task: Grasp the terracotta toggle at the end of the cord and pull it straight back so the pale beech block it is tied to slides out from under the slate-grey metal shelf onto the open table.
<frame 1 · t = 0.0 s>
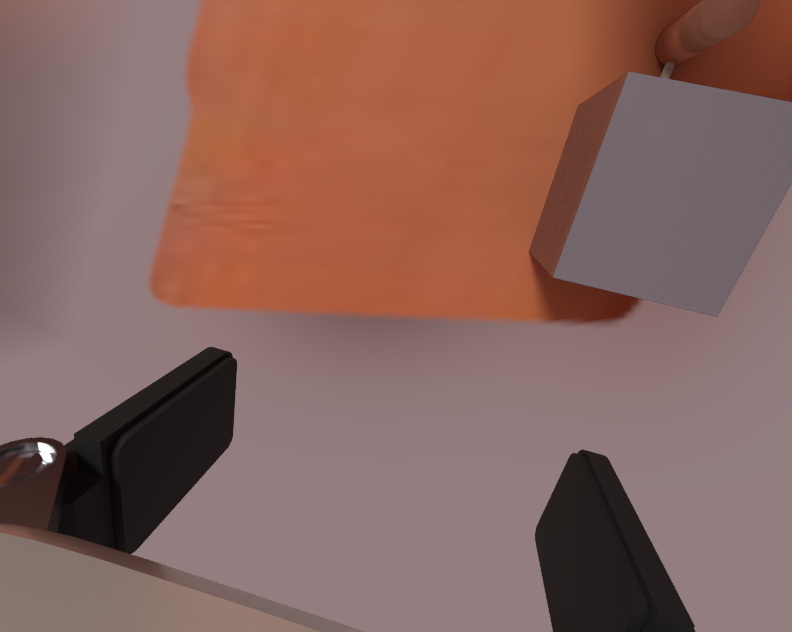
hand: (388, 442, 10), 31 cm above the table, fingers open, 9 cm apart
corded block: (608, 212, 36), on the table
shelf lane: (617, 190, 35), on the table
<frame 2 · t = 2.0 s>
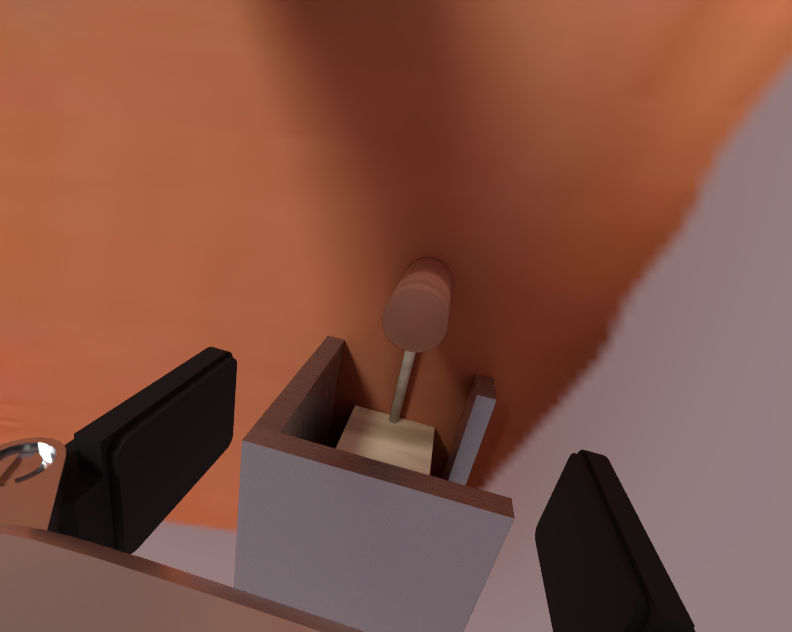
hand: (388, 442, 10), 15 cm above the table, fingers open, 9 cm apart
corded block: (387, 447, 29), on the table
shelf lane: (392, 427, 28), on the table
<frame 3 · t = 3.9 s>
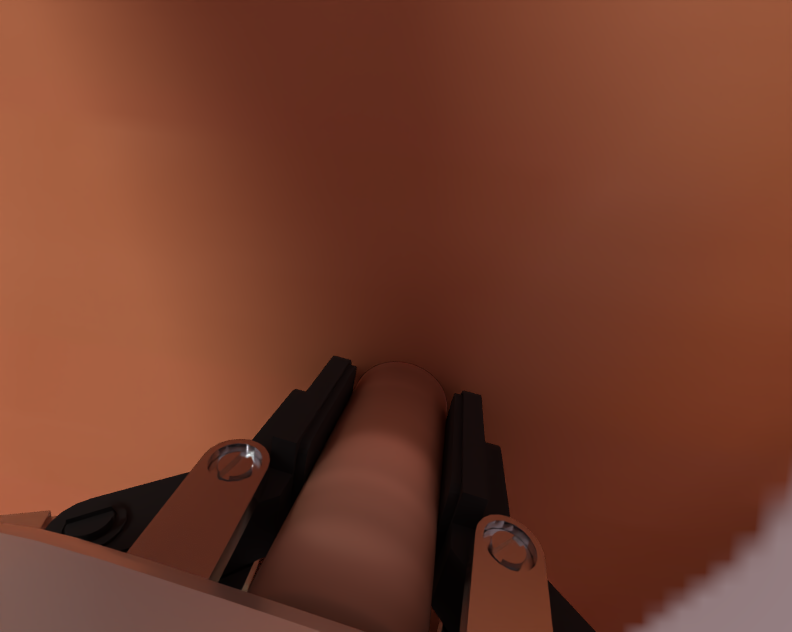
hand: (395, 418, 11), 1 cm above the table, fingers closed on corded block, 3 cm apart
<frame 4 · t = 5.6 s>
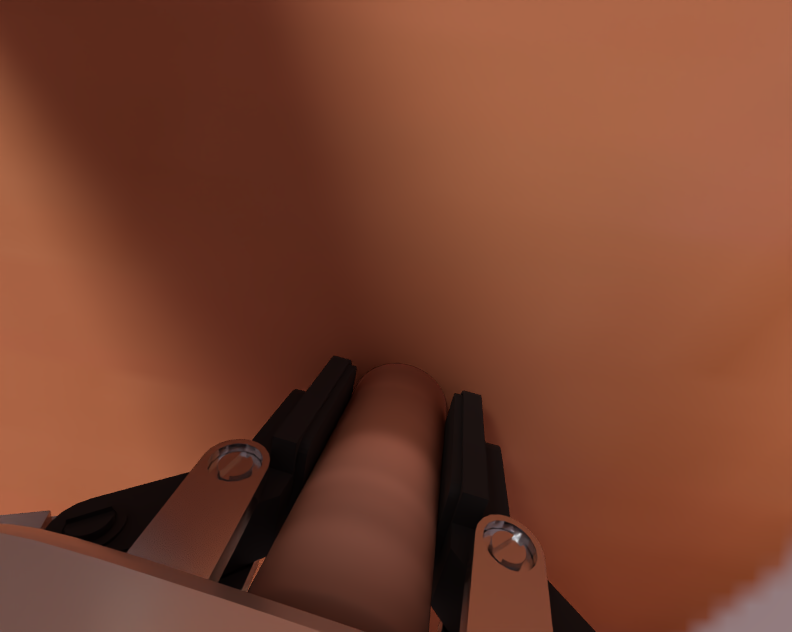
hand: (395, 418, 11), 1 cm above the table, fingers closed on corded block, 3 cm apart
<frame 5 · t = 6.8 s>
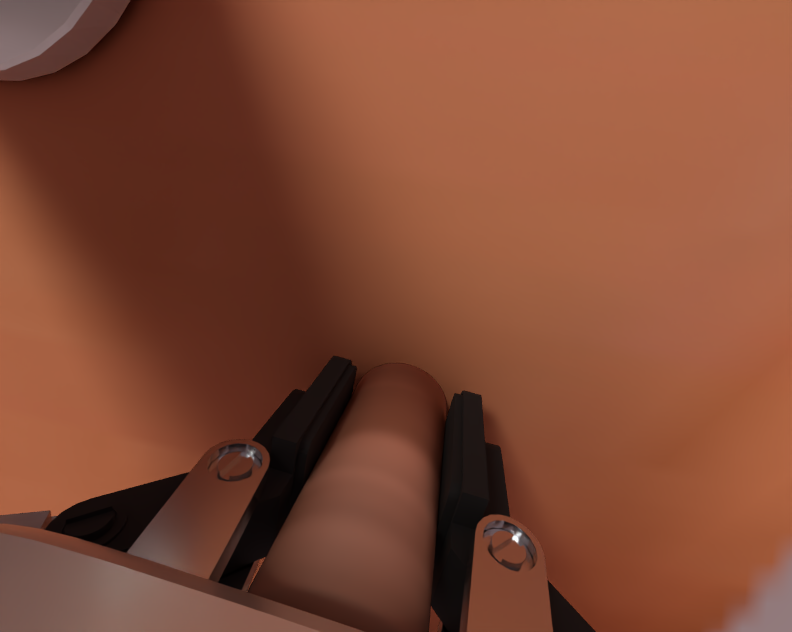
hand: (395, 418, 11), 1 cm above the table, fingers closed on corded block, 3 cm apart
when the fingers open (1 cm above the table, at t = 7.4 s): corded block stays where it is, on the table.
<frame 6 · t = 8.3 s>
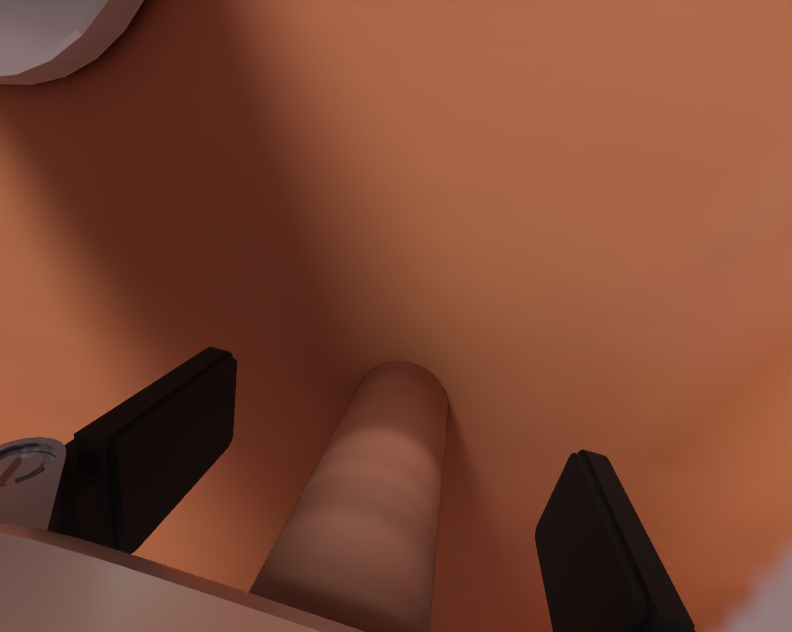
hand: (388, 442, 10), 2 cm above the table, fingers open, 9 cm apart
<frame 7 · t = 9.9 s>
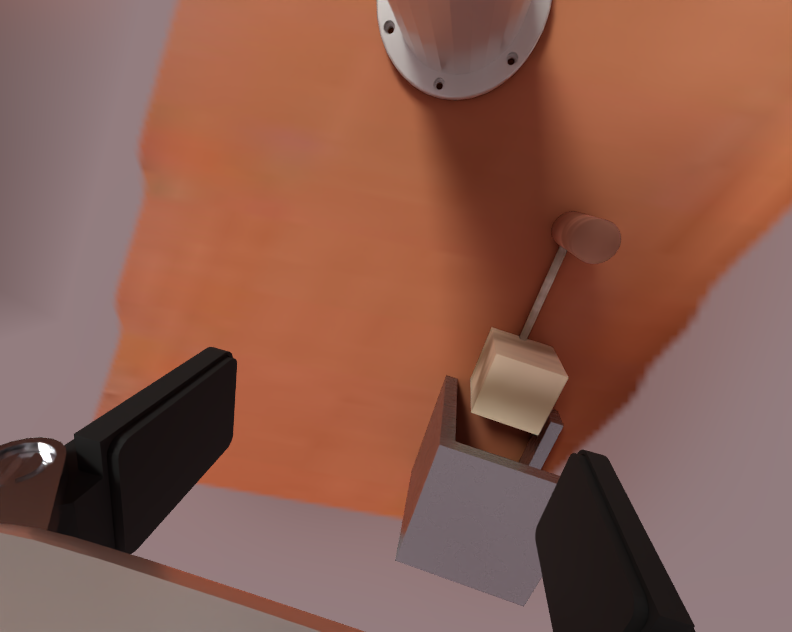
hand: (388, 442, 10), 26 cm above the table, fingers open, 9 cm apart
corded block: (509, 363, 37), on the table
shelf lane: (481, 438, 40), on the table
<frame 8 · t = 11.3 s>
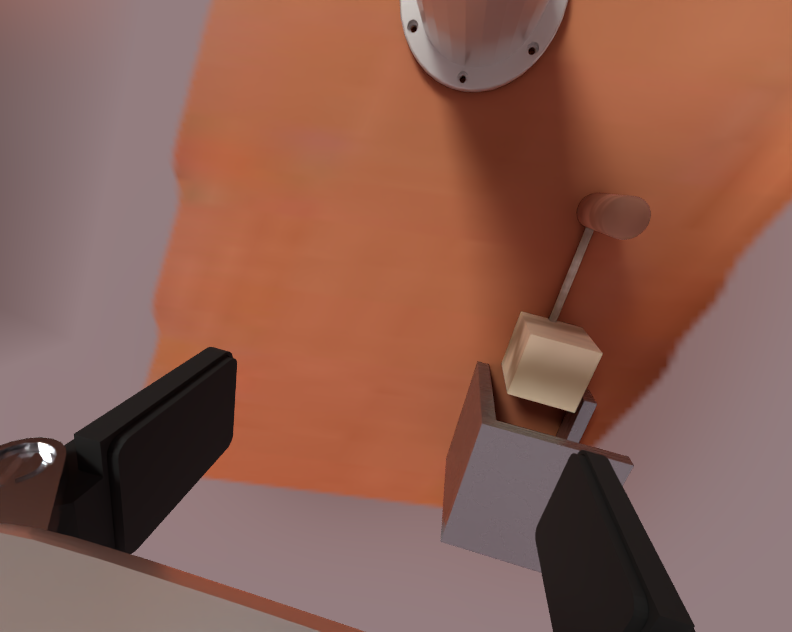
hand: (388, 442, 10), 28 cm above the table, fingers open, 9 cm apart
corded block: (540, 346, 38), on the table
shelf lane: (514, 422, 41), on the table
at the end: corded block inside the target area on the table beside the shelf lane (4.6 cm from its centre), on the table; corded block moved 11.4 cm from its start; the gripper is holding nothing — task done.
